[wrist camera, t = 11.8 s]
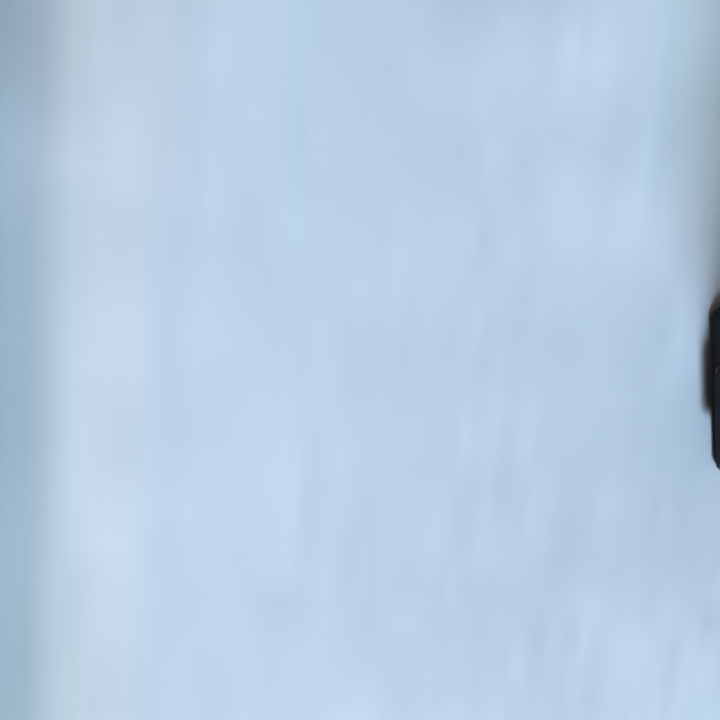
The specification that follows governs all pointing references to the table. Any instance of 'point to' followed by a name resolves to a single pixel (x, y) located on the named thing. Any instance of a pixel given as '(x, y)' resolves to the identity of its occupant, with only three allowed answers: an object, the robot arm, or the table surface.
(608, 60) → the table surface
